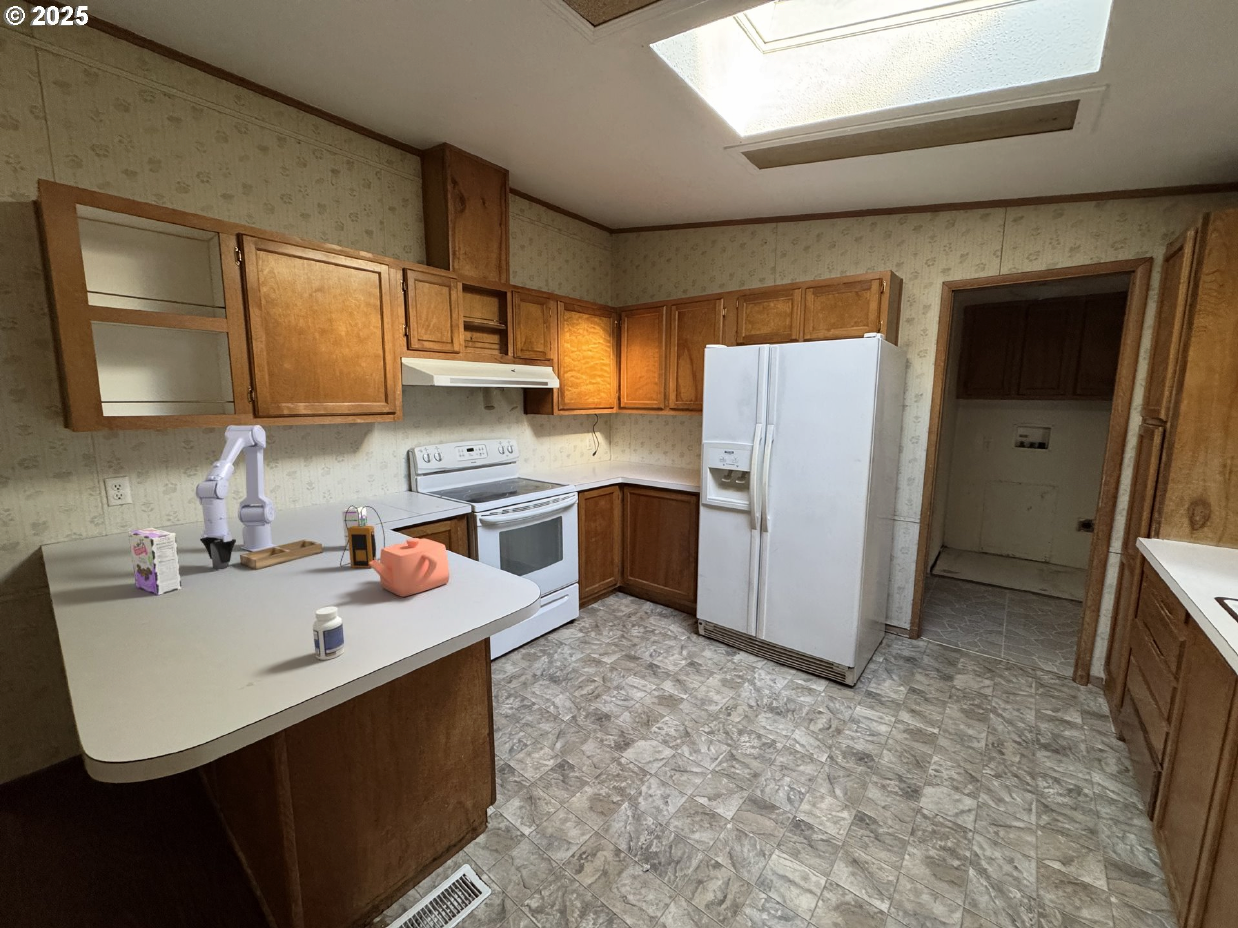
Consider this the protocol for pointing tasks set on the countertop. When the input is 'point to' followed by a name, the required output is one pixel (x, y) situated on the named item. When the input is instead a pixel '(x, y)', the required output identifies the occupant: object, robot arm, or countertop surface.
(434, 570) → the teapot
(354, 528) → the multimeter
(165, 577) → the candy box
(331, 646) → the pill bottle
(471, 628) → the countertop surface
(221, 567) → the battery cell
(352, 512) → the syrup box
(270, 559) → the cell tray
